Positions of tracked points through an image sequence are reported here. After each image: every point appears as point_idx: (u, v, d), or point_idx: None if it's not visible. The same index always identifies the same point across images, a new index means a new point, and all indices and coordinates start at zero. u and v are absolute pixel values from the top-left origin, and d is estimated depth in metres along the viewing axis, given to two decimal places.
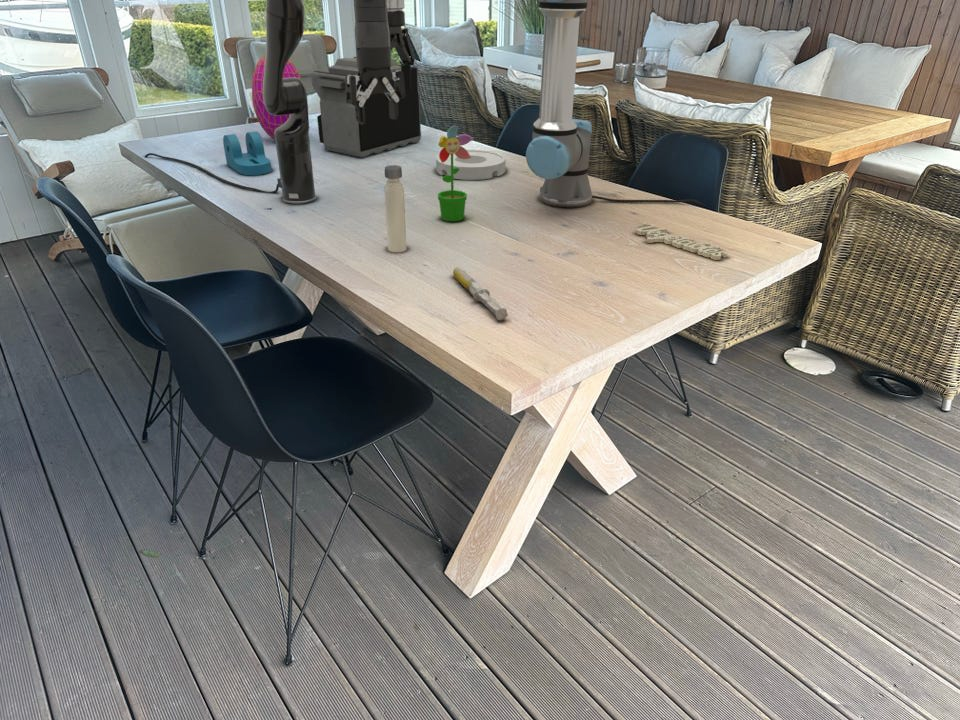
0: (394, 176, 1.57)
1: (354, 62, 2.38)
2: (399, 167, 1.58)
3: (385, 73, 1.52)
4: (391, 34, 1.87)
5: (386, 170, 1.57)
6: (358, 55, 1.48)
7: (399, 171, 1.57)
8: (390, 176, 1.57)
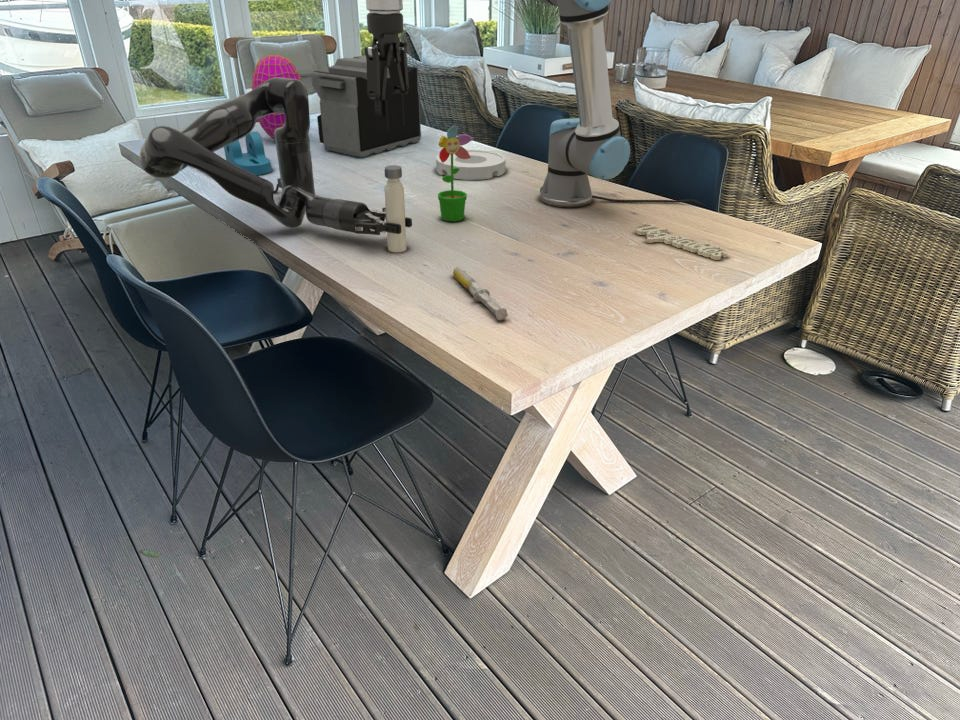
0: (394, 176, 1.57)
1: (354, 62, 2.38)
2: (399, 167, 1.58)
3: (371, 212, 1.69)
4: (385, 41, 1.43)
5: (386, 170, 1.57)
6: (344, 222, 1.67)
7: (399, 171, 1.57)
8: (390, 176, 1.57)
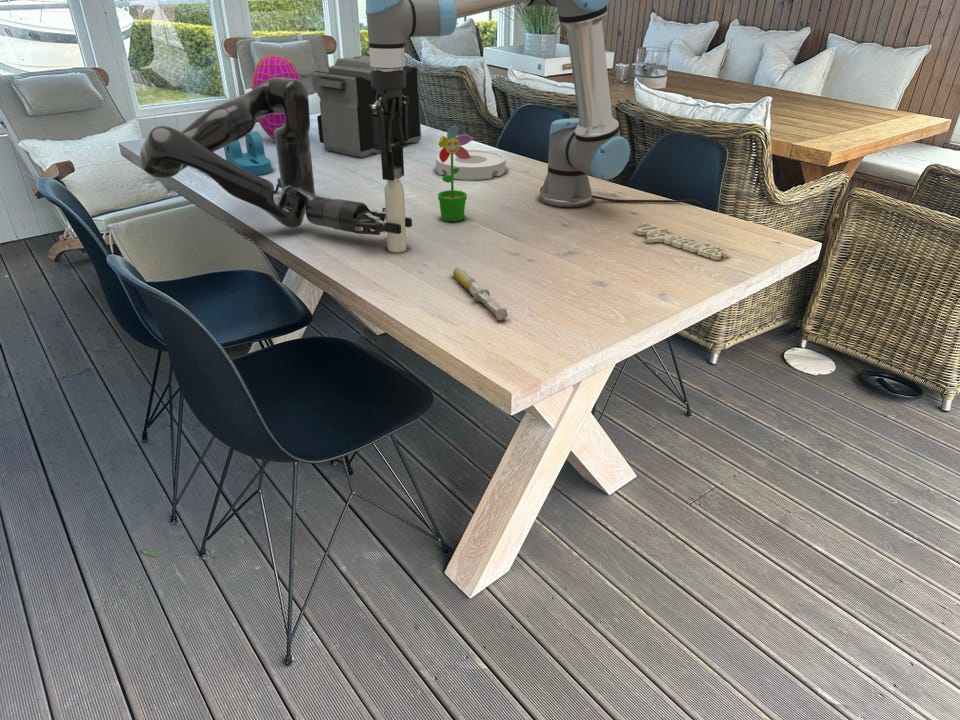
0: (394, 176, 1.57)
1: (354, 62, 2.38)
2: (399, 167, 1.58)
3: (371, 212, 1.69)
4: (388, 96, 1.48)
5: None
6: (344, 222, 1.67)
7: (399, 171, 1.57)
8: None
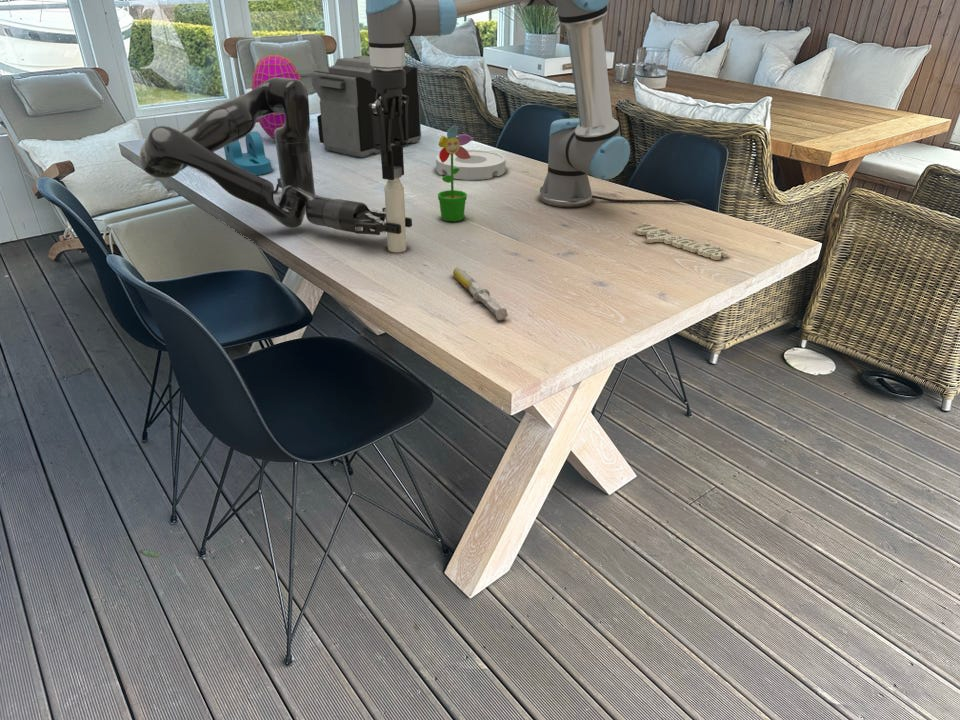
0: None
1: (354, 62, 2.38)
2: None
3: (371, 212, 1.69)
4: (388, 96, 1.48)
5: None
6: (344, 222, 1.67)
7: None
8: None
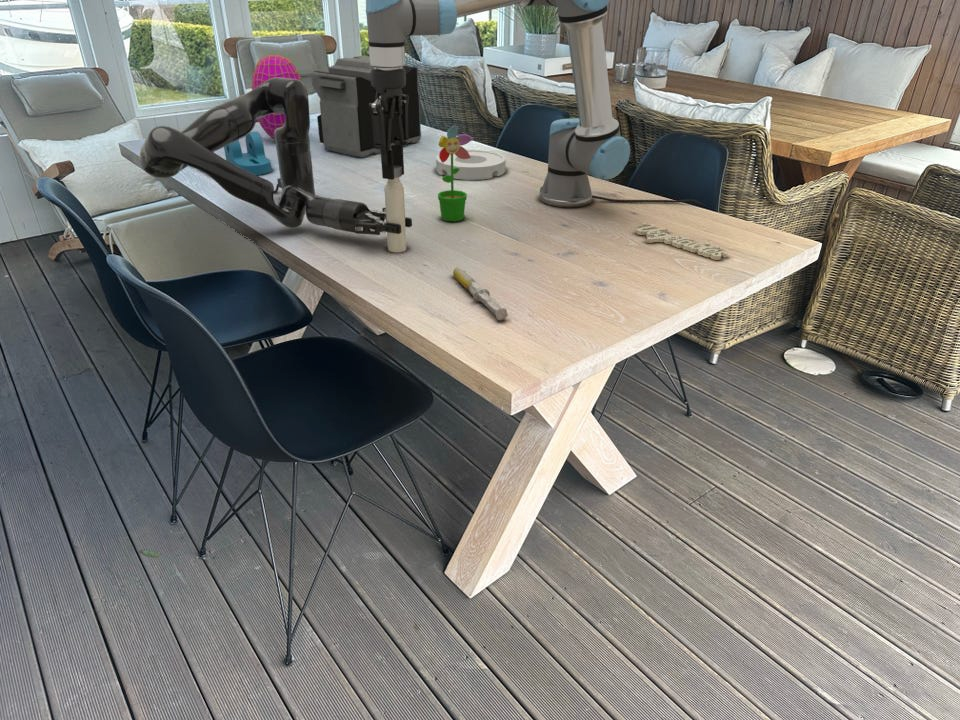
0: None
1: (354, 62, 2.38)
2: None
3: (371, 212, 1.69)
4: (388, 95, 1.48)
5: None
6: (344, 222, 1.67)
7: None
8: None
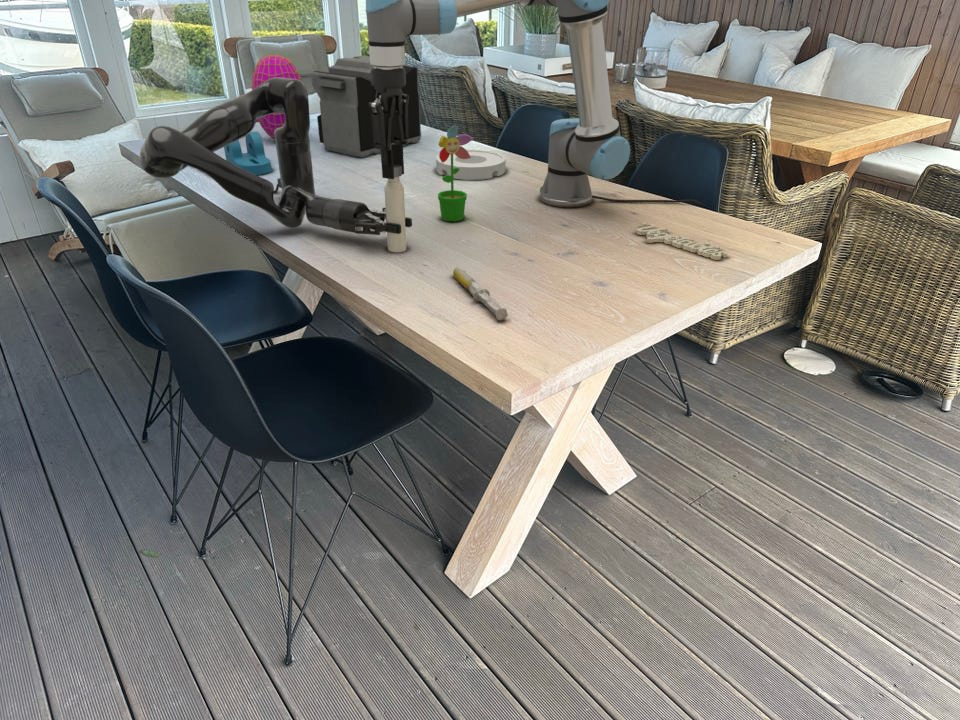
0: (400, 173, 1.58)
1: (354, 62, 2.38)
2: (397, 164, 1.59)
3: (371, 212, 1.69)
4: (388, 94, 1.48)
5: None
6: (344, 222, 1.67)
7: (401, 168, 1.59)
8: (396, 174, 1.57)
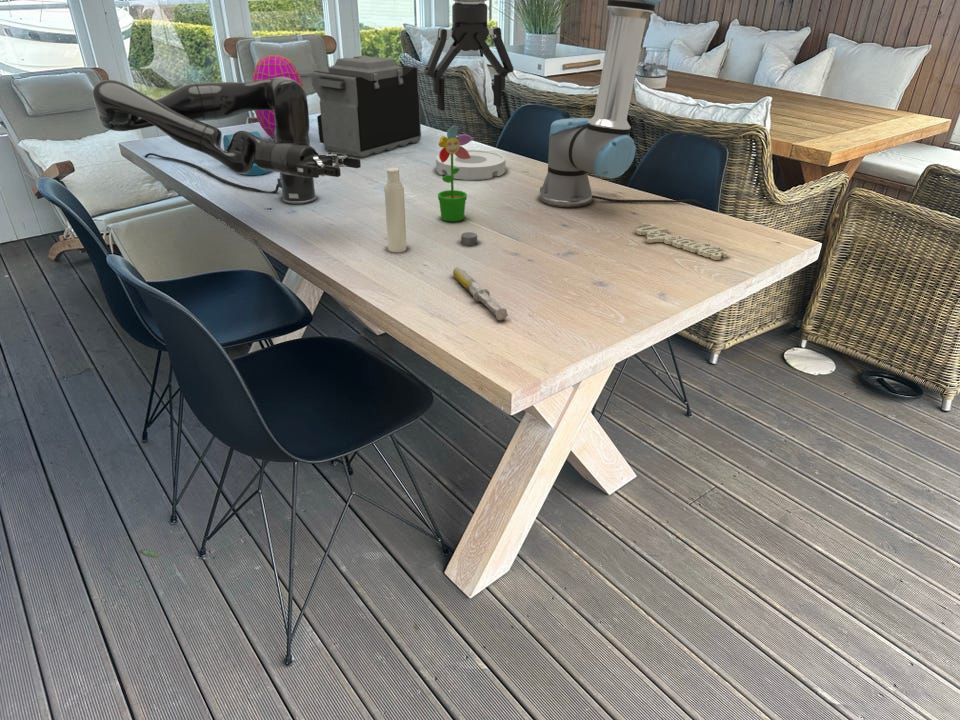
0: None
1: (354, 62, 2.38)
2: (463, 234, 1.71)
3: (319, 156, 1.68)
4: None
5: None
6: (291, 165, 1.65)
7: None
8: None
